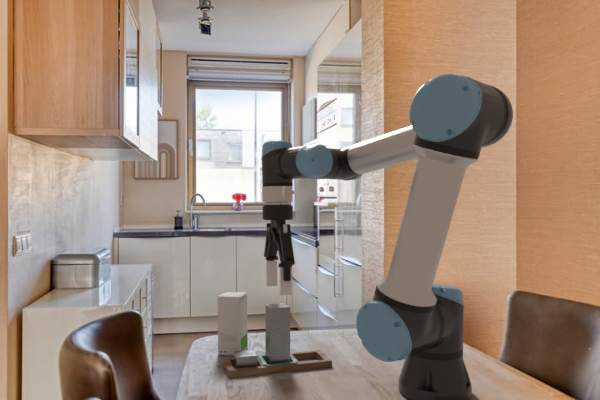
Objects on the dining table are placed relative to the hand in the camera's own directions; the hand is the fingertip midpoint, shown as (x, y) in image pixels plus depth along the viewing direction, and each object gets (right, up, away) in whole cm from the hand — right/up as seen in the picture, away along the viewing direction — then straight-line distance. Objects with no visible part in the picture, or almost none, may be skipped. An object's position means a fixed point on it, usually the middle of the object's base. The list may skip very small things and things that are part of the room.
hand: (278, 290), depth 123 cm
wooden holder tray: (0, -19, 0) cm, 19 cm away
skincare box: (-13, -19, +12) cm, 26 cm away
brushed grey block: (0, -19, 0) cm, 19 cm away
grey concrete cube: (-8, -19, -2) cm, 21 cm away
